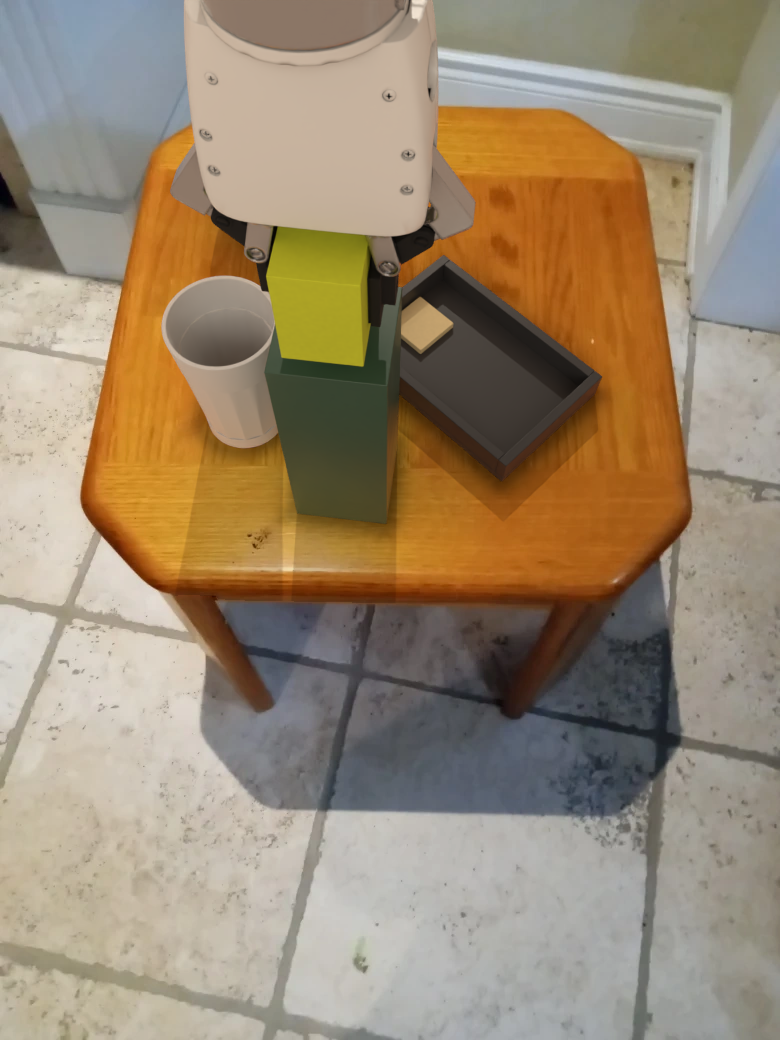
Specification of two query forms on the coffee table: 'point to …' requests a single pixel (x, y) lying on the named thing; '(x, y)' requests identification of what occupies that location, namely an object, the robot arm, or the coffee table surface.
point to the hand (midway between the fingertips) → (331, 298)
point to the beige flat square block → (423, 325)
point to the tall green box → (340, 425)
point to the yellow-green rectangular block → (320, 295)
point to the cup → (225, 355)
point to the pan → (489, 372)
